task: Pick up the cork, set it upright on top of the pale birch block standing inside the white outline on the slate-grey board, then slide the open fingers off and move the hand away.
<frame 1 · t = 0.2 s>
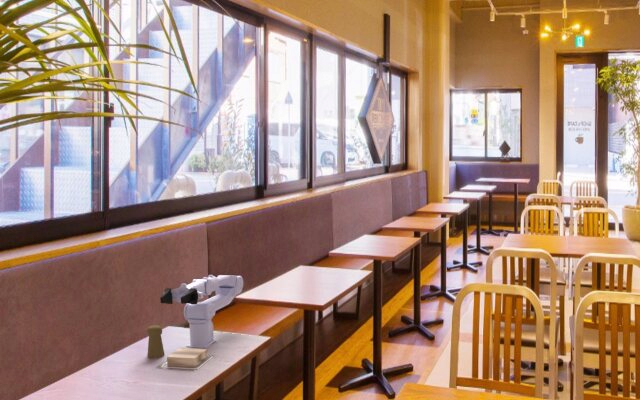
hand: (171, 300, 226), 21 cm above the table, tool horizontal, fingers open, 7 cm apart
birch block: (187, 361, 227), resting on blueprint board
cork: (156, 357, 235), on the table
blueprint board: (185, 362, 228), on the table
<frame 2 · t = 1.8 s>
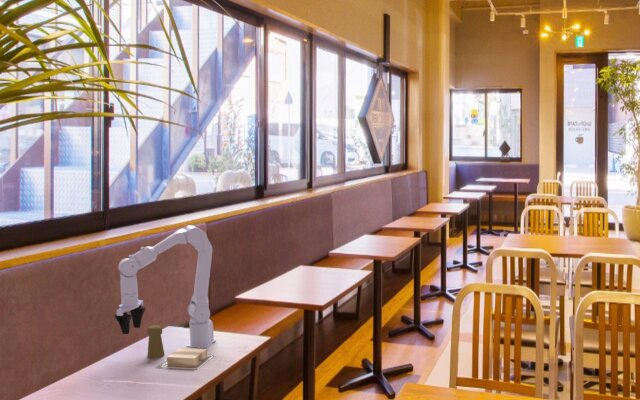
hand: (131, 330, 236), 9 cm above the table, tool pointing down, fingers open, 7 cm apart
nothing on the table moved.
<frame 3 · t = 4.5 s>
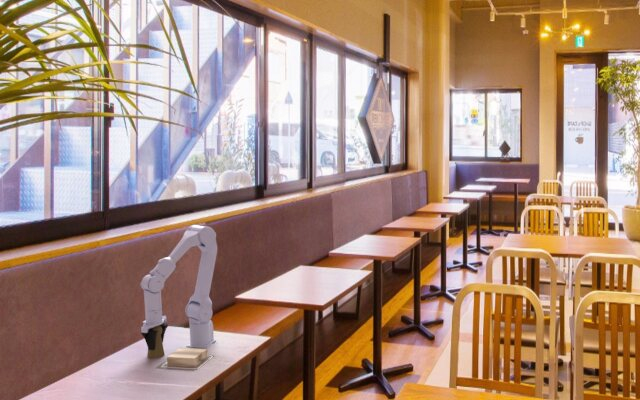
hand: (155, 347, 234), 3 cm above the table, tool pointing down, fingers closed on cork, 5 cm apart
cork: (156, 357, 235), on the table, touching gripper
everything else where it was.
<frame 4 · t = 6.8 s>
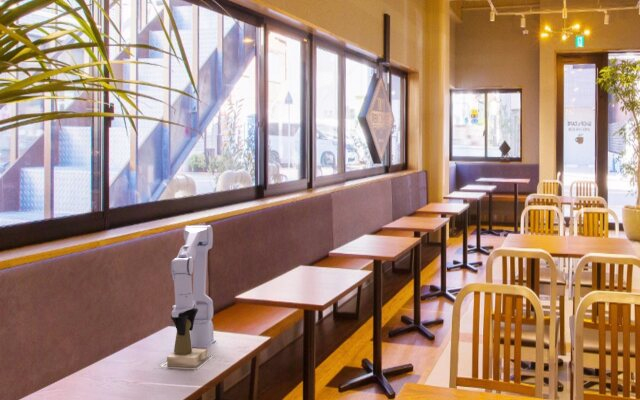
hand: (185, 332, 227), 10 cm above the table, tool pointing down, fingers closed on cork, 5 cm apart
cork: (182, 351, 228), point 4 cm above the table, touching gripper
everything else where it was.
when the fingers open (8 cm above the table, at t = 7.9 s): cork stays where it is, resting on birch block.
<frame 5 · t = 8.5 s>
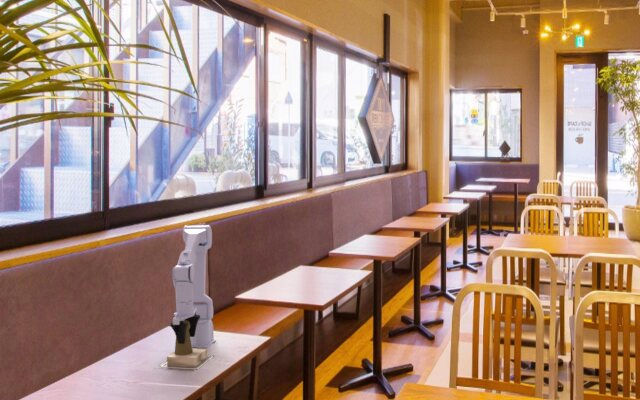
hand: (186, 339, 227), 8 cm above the table, tool pointing down, fingers open, 7 cm apart
birch block: (187, 361, 227), resting on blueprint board, touching cork
cork: (183, 353, 228), point 3 cm above the table, touching birch block
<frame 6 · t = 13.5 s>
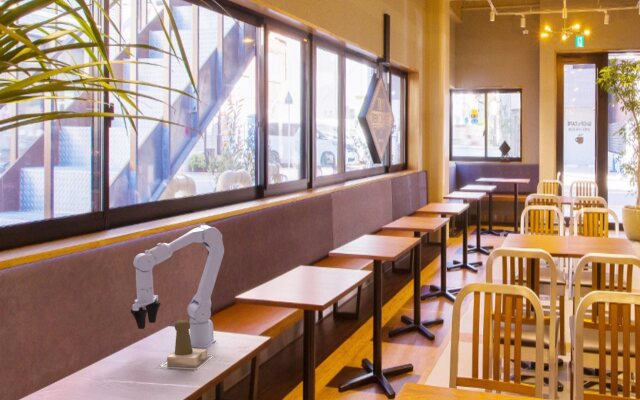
hand: (147, 325, 237), 10 cm above the table, tool pointing down, fingers open, 7 cm apart
nothing on the table moved.
at the end: cork 1.4 cm off-centre on the birch block, point 2.8 cm above the birch block's base; cork tilted 0°; birch block moved 0.0 cm from its start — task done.
